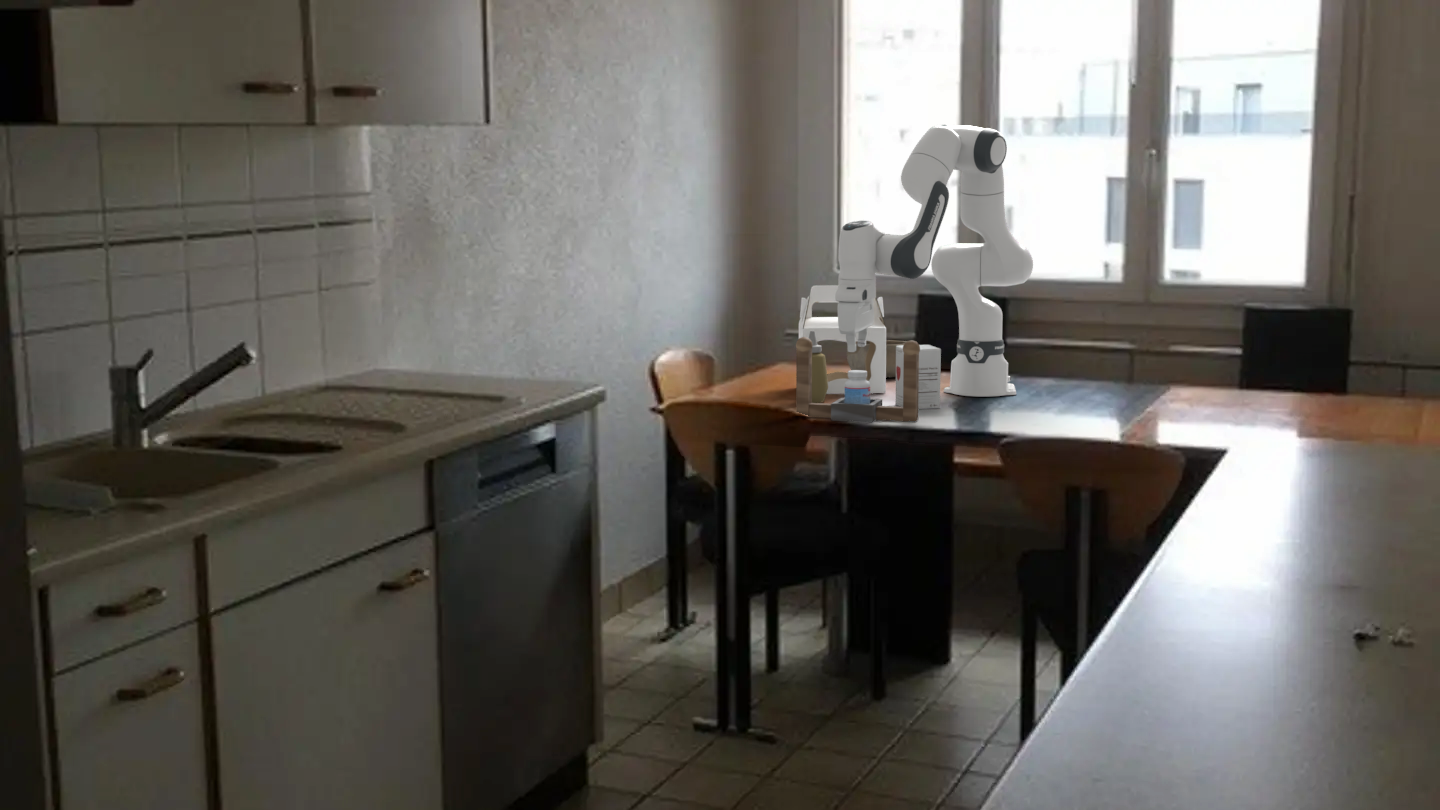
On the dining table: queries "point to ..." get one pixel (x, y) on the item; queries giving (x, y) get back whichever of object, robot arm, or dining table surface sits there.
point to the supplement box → (922, 376)
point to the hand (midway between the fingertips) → (856, 349)
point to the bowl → (858, 357)
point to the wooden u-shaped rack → (857, 411)
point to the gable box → (830, 331)
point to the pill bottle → (857, 388)
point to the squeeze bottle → (818, 371)
